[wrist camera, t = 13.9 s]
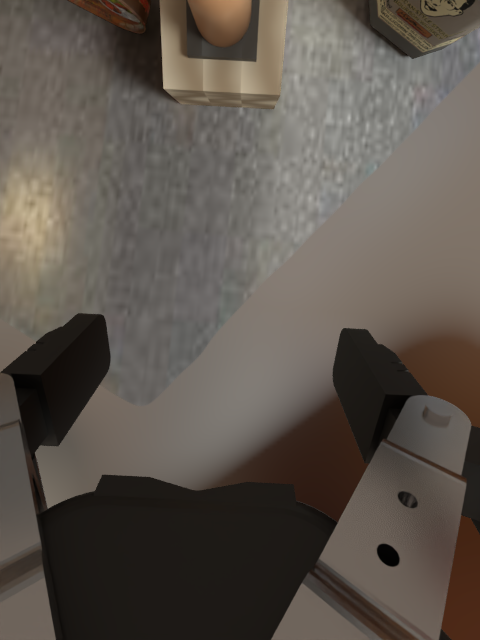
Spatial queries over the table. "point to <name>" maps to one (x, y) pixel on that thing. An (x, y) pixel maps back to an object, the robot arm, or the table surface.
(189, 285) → the table surface
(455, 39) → the liquor
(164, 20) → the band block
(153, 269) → the table surface
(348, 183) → the table surface
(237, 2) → the flanged tan peg
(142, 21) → the tin
